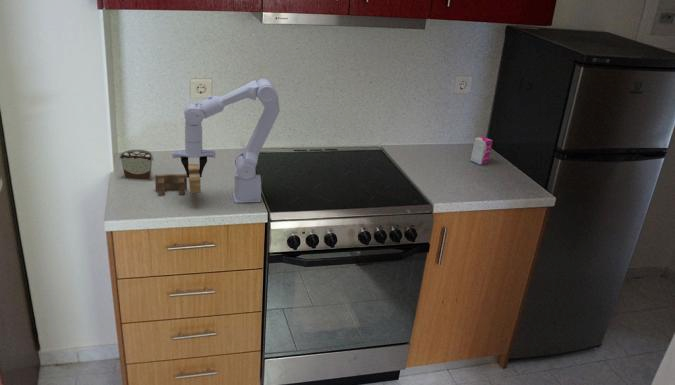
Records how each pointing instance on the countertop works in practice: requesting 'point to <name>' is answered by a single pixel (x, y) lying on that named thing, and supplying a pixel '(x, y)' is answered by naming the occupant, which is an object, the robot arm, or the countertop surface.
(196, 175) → the rail
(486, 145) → the supplement box
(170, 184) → the brown wooden stool
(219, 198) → the countertop surface
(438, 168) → the countertop surface
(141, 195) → the countertop surface
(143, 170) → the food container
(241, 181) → the robot arm
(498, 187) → the countertop surface
